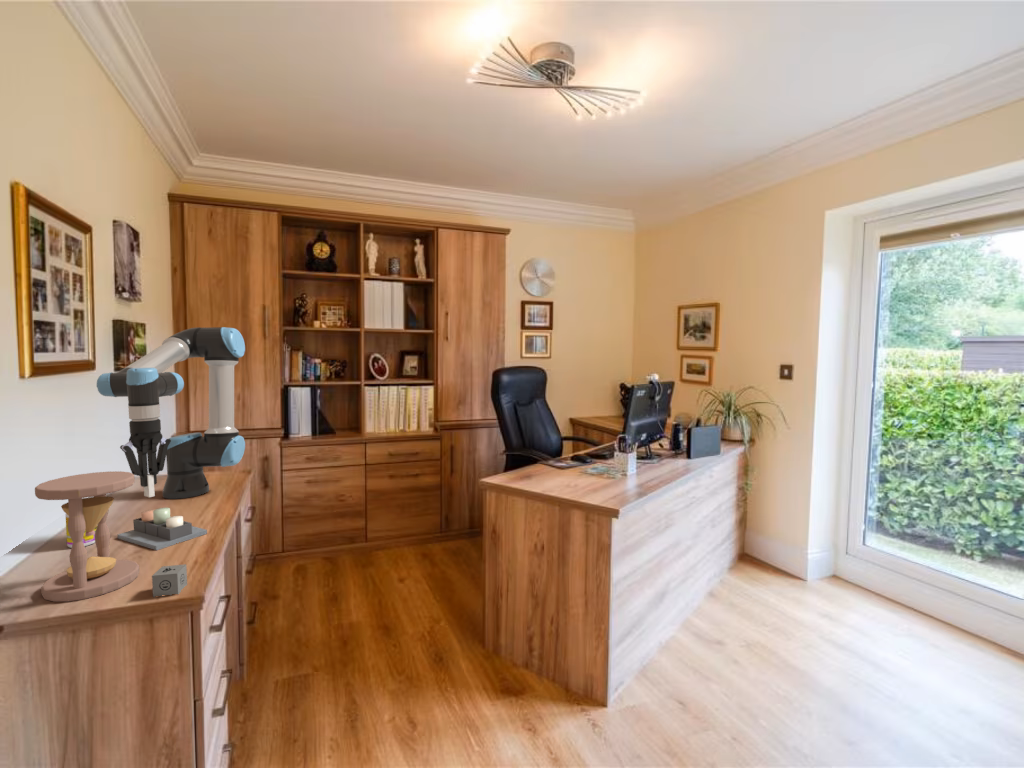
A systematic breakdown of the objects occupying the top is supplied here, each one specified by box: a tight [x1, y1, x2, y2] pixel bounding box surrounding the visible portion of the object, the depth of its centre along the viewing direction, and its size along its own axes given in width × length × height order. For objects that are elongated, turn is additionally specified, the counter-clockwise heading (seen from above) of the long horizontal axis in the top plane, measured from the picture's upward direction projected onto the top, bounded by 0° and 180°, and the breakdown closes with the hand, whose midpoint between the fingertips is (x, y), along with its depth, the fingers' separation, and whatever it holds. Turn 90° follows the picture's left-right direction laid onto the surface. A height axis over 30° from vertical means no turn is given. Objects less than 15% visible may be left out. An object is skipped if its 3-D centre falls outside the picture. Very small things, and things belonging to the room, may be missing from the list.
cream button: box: [166, 515, 184, 529], centre depth 144 cm, size 4×4×4 cm
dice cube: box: [151, 564, 188, 598], centre depth 113 cm, size 5×5×5 cm
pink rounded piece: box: [140, 509, 155, 522], centre depth 149 cm, size 4×4×4 cm
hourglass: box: [34, 470, 140, 603], centre depth 116 cm, size 18×18×25 cm
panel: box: [117, 517, 208, 551], centre depth 147 cm, size 14×20×4 cm
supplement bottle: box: [65, 498, 97, 549], centre depth 140 cm, size 7×7×13 cm
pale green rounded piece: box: [153, 507, 171, 525], centre depth 147 cm, size 4×4×4 cm
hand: (149, 496), depth 149 cm, fingers closed
